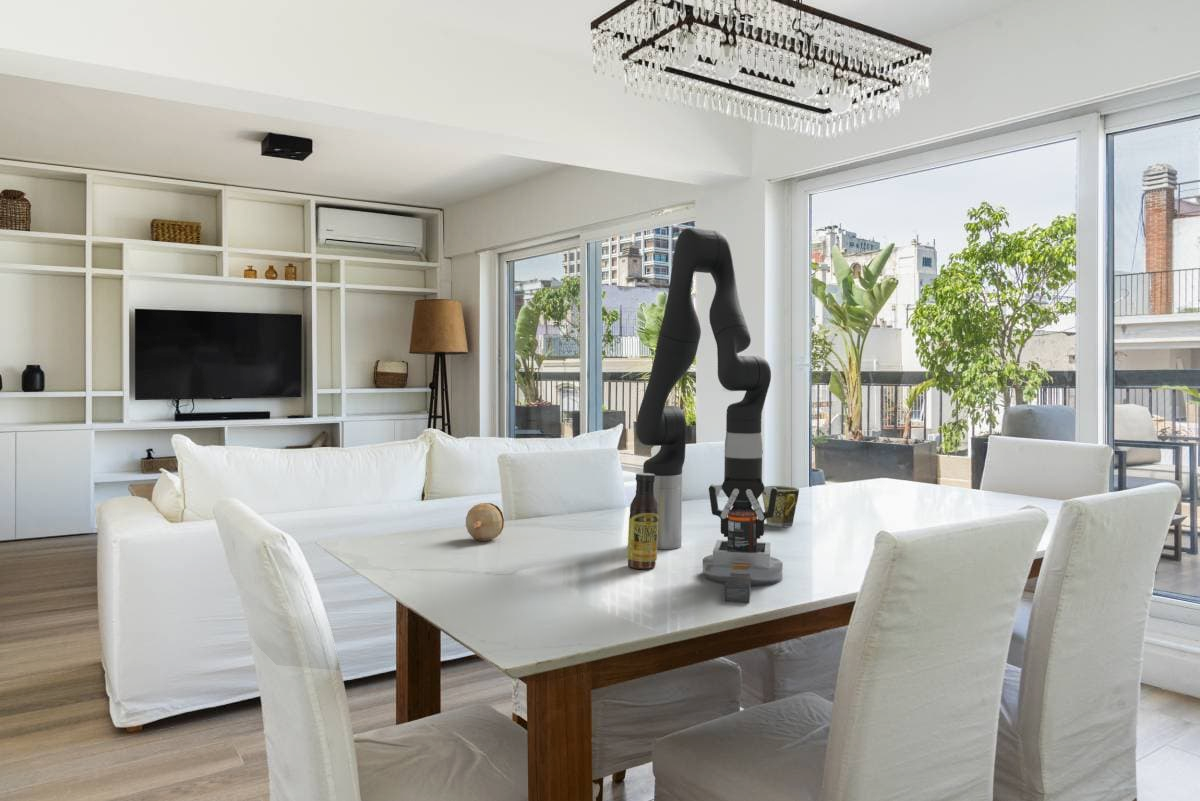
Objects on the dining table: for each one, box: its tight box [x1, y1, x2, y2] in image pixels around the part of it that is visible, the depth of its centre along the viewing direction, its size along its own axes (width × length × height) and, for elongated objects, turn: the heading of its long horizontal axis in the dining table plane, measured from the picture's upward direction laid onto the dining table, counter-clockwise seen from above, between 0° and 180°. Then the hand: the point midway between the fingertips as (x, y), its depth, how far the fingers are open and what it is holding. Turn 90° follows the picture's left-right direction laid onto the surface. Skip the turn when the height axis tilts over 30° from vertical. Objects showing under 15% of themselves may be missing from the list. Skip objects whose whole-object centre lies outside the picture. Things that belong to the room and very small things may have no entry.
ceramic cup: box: [761, 485, 800, 528], centre depth 224 cm, size 13×10×10 cm
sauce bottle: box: [627, 472, 658, 570], centre depth 176 cm, size 7×6×20 cm
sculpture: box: [465, 502, 505, 542], centre depth 202 cm, size 9×9×15 cm
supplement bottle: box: [727, 500, 758, 552], centre depth 169 cm, size 6×6×11 cm
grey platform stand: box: [702, 539, 784, 604], centre depth 163 cm, size 16×28×6 cm, turn 168°
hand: (742, 536), depth 169 cm, fingers closed on supplement bottle, 6 cm apart
